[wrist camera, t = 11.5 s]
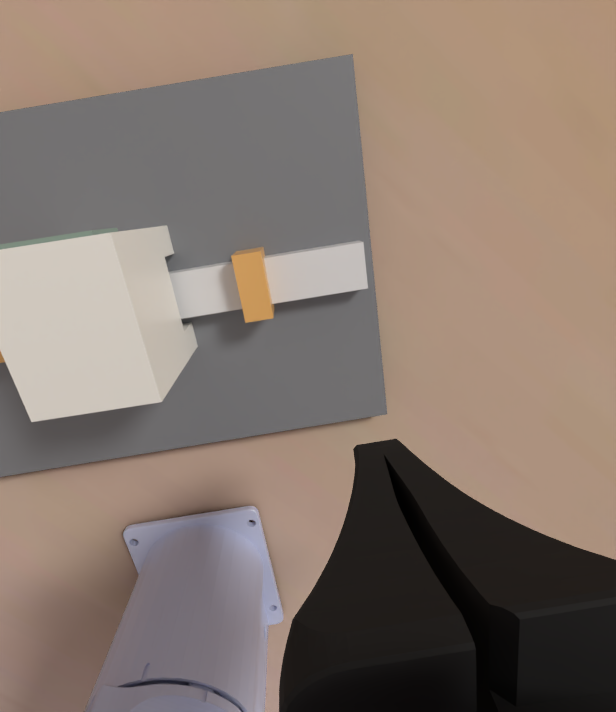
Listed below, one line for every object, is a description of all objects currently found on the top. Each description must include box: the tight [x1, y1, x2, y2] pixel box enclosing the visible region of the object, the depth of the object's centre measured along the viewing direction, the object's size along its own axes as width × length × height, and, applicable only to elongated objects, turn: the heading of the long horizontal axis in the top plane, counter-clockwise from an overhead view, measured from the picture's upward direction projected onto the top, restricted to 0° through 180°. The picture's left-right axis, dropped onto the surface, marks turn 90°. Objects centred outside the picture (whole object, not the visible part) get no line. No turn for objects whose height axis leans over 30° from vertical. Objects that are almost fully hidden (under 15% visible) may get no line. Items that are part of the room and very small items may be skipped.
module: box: [0, 225, 198, 422], centre depth 16 cm, size 6×4×6 cm
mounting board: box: [0, 54, 387, 477], centre depth 18 cm, size 16×22×3 cm
